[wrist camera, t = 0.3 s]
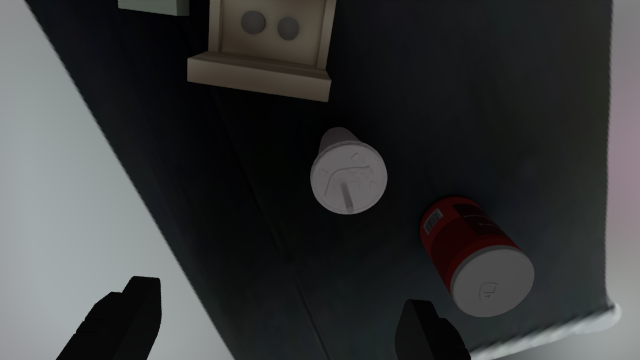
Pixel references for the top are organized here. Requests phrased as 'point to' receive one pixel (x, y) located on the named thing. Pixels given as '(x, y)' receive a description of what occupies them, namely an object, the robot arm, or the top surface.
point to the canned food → (475, 257)
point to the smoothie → (347, 173)
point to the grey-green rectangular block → (157, 6)
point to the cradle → (268, 47)
